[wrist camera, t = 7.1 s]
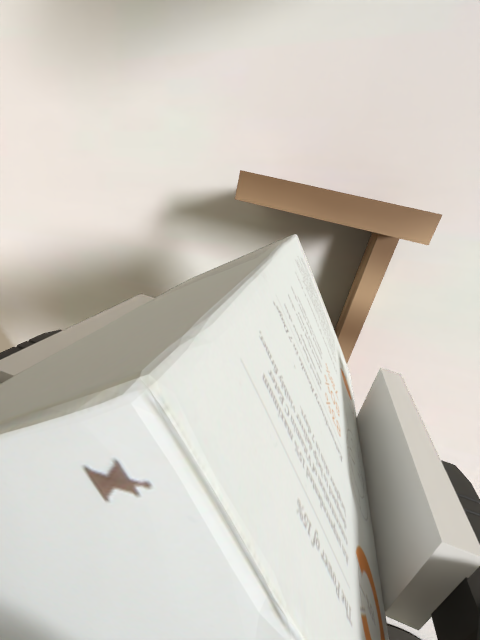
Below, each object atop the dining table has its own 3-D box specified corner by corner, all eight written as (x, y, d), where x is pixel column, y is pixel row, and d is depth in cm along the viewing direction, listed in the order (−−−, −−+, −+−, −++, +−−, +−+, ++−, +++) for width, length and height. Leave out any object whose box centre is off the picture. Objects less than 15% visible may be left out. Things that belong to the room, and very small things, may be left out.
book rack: (321, 406, 30) (319, 517, 19) (225, 373, 32) (173, 458, 21) (399, 212, 23) (469, 216, 12) (268, 183, 24) (223, 162, 13)
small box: (187, 278, 16) (-186, 473, 4) (298, 230, 14) (142, 364, 2) (246, 401, 18) (97, 775, 6) (353, 377, 16) (443, 902, 4)
